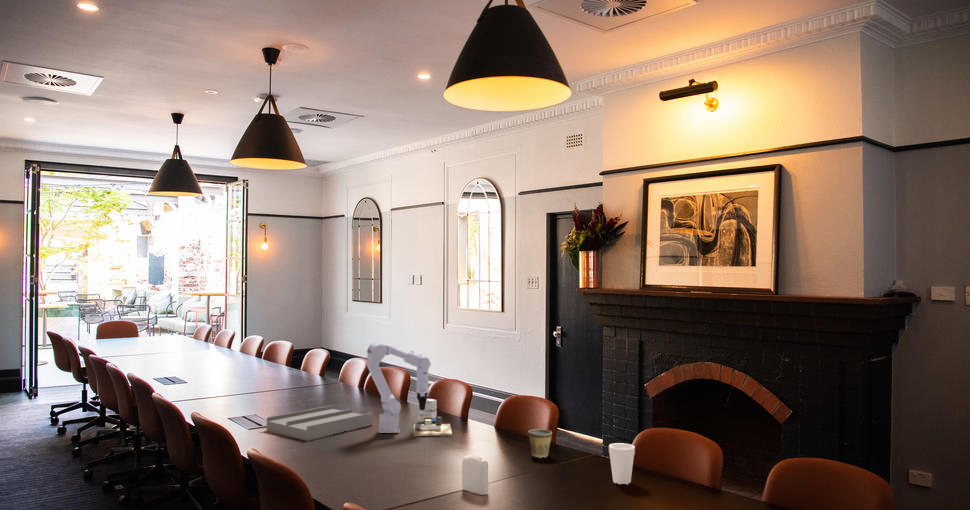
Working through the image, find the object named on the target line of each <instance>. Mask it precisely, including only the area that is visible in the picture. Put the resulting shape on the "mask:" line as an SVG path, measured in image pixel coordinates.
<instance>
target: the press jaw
mask: <svg viewBox="0 0 970 510" xmlns="http://www.w3.org/2000/svg"><path fill="white" fill-rule="evenodd" d="M425 425H431V419H425Z"/></svg>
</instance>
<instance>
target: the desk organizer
mask: <svg viewBox="0 0 970 510" xmlns="http://www.w3.org/2000/svg"><path fill="white" fill-rule="evenodd" d="M333 406H334V405H332V404H331V405H326V406H320V407H315V408H314V407H313V408H309V409H305V410H299V411H293V412H287V413H283V414H278V415H272V416H267V417H266V431H267V432H270V433H274V434H277V435H281V436H286V437H290V438H295V439H298V440H303V441H307V442H309V441H313V440H318V439H322V438H326V436H327V437H329V436H330V435H331V436H334V435H333V434H335V435H338V434H337V433H339V434H341V433H340V432H344V431H348V430H352V429H356V428H360V427H364V426H367V425H371V424H372V425H373V412H367V413H363V414H362V413H356V412H353V408H350V409H349V408H348V409H343V410H340V409H335V408H334V407H333ZM356 430H357V429H356ZM352 431H353V430H352ZM348 432H349V431H348ZM344 433H345V432H344Z"/></svg>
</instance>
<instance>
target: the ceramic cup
mask: <svg viewBox="0 0 970 510" xmlns="http://www.w3.org/2000/svg"><path fill="white" fill-rule="evenodd" d="M552 436H553V432H552V431H551V430H549V429H543V428H541V429H540V428H536V429H530V430H528V437H529V438H528V439H529V443H530V448H531V449H530V450H531V457H534V458H537V457H538V459H541V458H542V459H543V457H544V458H547V457H548V455H549V452H550V451H549V450H550V445H551V441H552Z"/></svg>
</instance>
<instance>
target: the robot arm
mask: <svg viewBox="0 0 970 510" xmlns="http://www.w3.org/2000/svg"><path fill="white" fill-rule="evenodd" d="M366 354H367V356H366V357H367V358H366V366H367V369H368V371H369V374H370V376H371V378H372V380H373V381H374V384H375V386H376V388H377V391H378V393H379V395H380V402H381V407H382V410H383V413H380V414H379V416H378V417H379V418H378V419H379V421H378V434H379V433H384V432H386V433H391V432H397V431H398V429H399V427H400V426H399V420H400V419H399V418H400V415H399V413H400V411H401V408H402V405H401V403H400V402H399V401H398V400H397V399H396V397H395V396H394V394H393V393H392V392H391V389H390V387H389V384H388V383H387V381H386V378H385V375H384V374H383V372H382V369H381V366H380V363H381V362H382V360H383V359H384V358H385V356H390V355H391V356H395V357H398V358H401V359H403V361H404V363H406V364H409V365H411V366H413V367H414V366H415V367H416V398H417V401H418V408H419V407H420V410H424V409H425V404H426V400H427V399H429V396H428V395H429V393H431V389H429V368H430V367H431V361H430V359H429V358H428V357H426V356H423V355H422V354H420V353H419V354H418V353H415V351H414V350H408V351H406V352H405V351H403V350H402V349H401V350H400V349H398V348H395V347H394V346H391V345H388V344H387V345H386V344H382V343H378V342H372V343H371V344H369V346H368V347H367V350H366Z"/></svg>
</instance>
